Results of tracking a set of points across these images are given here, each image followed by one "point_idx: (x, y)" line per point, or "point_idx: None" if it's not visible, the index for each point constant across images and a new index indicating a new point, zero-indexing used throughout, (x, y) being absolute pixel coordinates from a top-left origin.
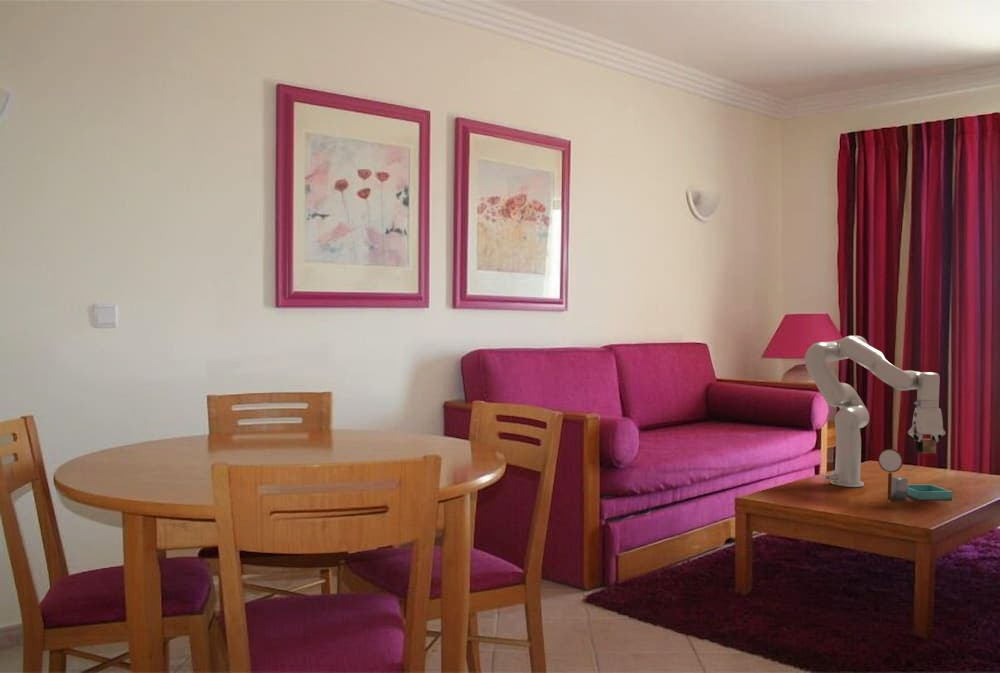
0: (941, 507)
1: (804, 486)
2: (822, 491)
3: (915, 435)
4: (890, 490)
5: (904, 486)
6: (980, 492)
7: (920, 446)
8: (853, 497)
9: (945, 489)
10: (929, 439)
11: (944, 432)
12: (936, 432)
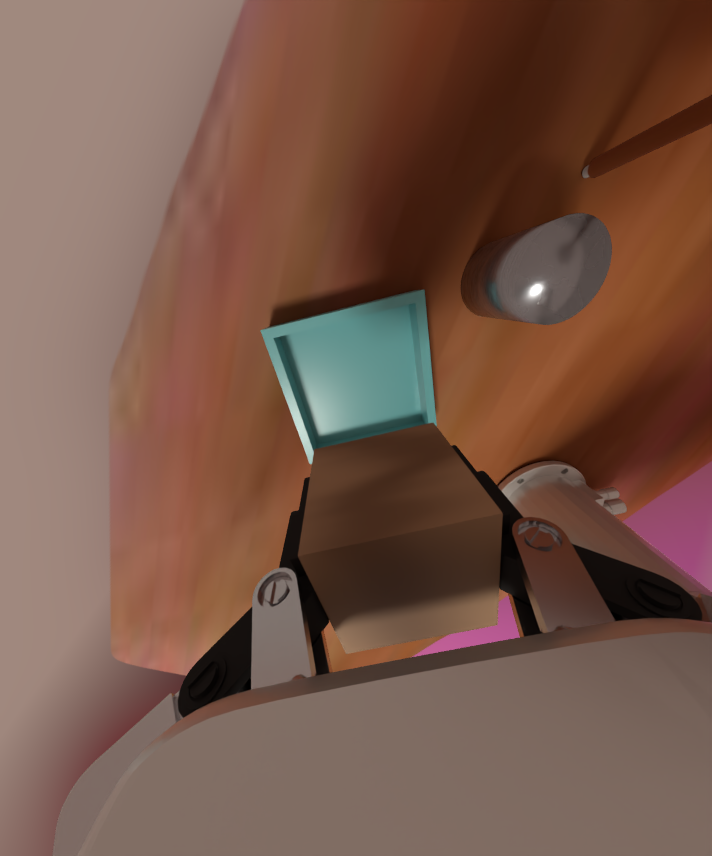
0: (372, 84)
1: (689, 443)
2: (694, 376)
3: (674, 608)
4: (650, 128)
5: (531, 228)
6: (146, 481)
7: (478, 481)
8: (661, 280)
9: (280, 376)
10: (362, 616)
11: (83, 810)
12: (279, 756)
